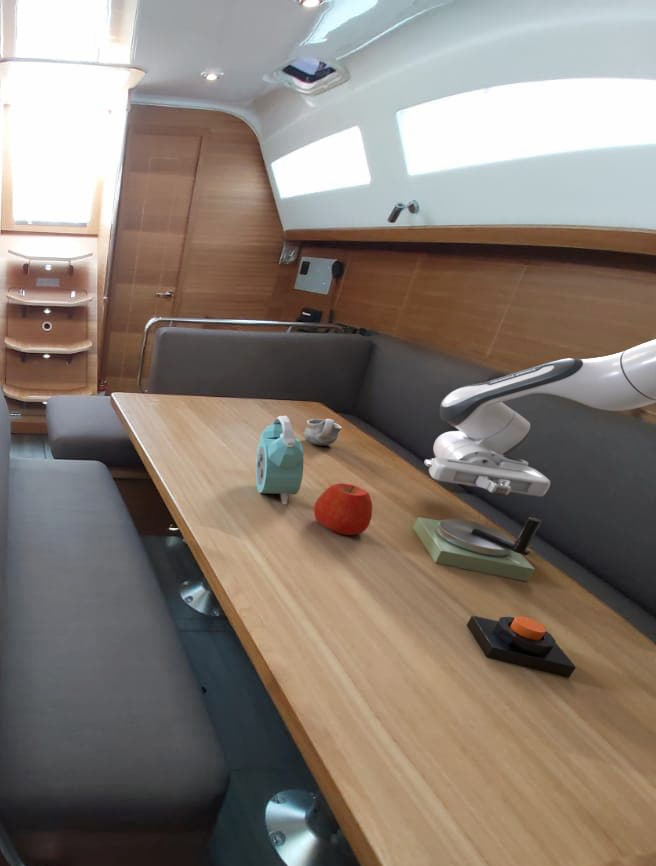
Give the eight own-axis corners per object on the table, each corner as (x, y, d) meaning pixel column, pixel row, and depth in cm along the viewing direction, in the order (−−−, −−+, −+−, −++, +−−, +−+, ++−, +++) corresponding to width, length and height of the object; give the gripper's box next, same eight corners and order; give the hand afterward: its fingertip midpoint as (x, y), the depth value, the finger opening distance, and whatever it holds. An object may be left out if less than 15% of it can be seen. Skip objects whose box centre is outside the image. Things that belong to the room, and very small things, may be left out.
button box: (540, 642, 81) (553, 623, 79) (568, 678, 74) (583, 658, 72) (466, 625, 84) (476, 606, 82) (486, 657, 77) (498, 638, 75)
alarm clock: (298, 511, 119) (324, 432, 110) (256, 504, 121) (277, 427, 112) (283, 481, 134) (304, 410, 125) (245, 476, 136) (264, 405, 127)
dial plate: (493, 543, 109) (500, 531, 107) (527, 581, 96) (535, 568, 95) (412, 528, 113) (417, 516, 112) (435, 562, 101) (441, 550, 99)
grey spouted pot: (329, 440, 165) (339, 411, 160) (342, 454, 153) (353, 423, 149) (297, 437, 166) (306, 408, 162) (308, 450, 155) (318, 420, 151)
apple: (304, 527, 112) (318, 485, 107) (316, 510, 119) (330, 470, 115) (359, 546, 105) (377, 502, 101) (368, 527, 113) (385, 485, 108)
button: (533, 628, 78) (539, 620, 78) (545, 643, 75) (551, 635, 75) (505, 622, 80) (510, 613, 79) (516, 637, 76) (521, 628, 76)
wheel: (538, 562, 96) (561, 523, 93) (482, 562, 95) (503, 524, 92) (472, 524, 109) (490, 489, 105) (422, 524, 108) (438, 489, 104)
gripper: (426, 446, 118) (448, 467, 107) (534, 461, 112) (570, 486, 100) (416, 470, 121) (436, 494, 109) (521, 486, 115) (554, 513, 103)
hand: (501, 490), depth 105 cm, fingers closed
